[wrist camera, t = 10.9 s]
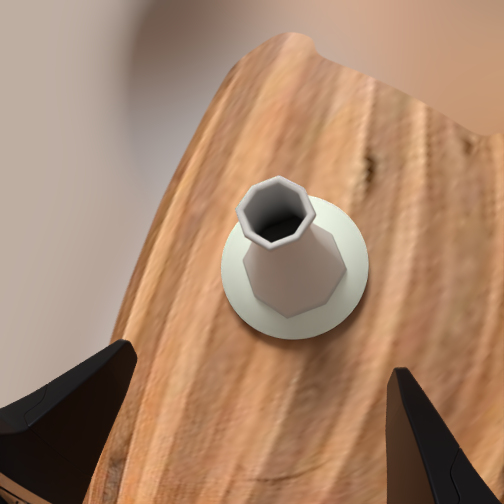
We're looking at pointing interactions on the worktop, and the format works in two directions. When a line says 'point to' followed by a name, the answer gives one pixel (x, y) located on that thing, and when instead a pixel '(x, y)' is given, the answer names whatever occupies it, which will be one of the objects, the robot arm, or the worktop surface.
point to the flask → (287, 248)
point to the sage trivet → (316, 318)
